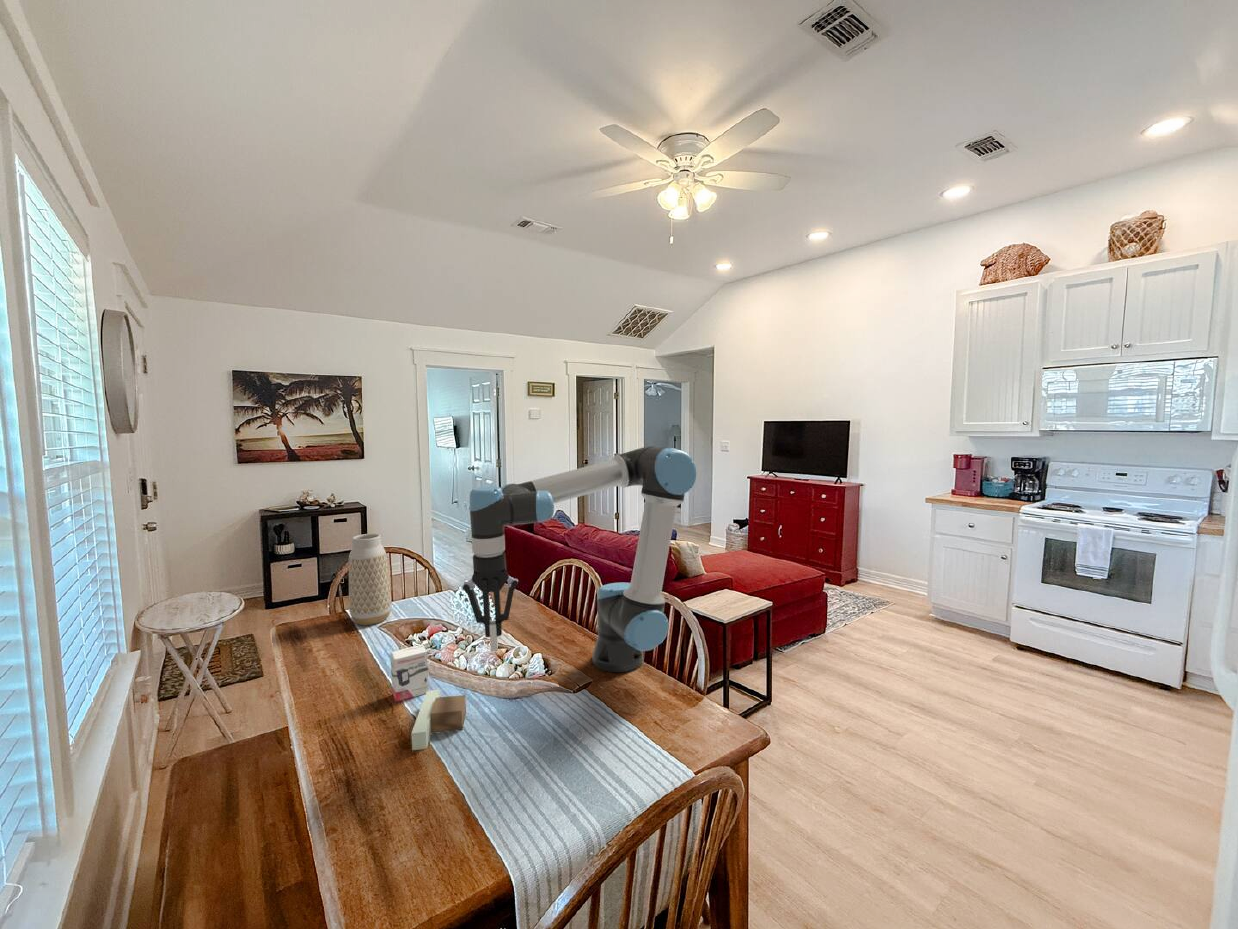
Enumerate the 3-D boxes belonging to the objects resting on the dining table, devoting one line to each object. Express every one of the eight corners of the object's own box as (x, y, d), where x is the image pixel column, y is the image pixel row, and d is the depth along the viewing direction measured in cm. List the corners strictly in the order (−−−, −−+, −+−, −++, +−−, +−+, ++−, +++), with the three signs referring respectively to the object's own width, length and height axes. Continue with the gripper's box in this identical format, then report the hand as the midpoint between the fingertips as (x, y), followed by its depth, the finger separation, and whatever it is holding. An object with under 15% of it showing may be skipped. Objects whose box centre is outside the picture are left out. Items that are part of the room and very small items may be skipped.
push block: (466, 714, 132) (465, 695, 131) (462, 731, 125) (461, 710, 125) (436, 717, 131) (435, 697, 130) (431, 734, 124) (430, 713, 124)
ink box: (396, 703, 137) (393, 659, 136) (392, 694, 141) (389, 651, 140) (430, 692, 142) (427, 650, 141) (425, 685, 146) (423, 643, 145)
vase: (385, 609, 201) (380, 530, 198) (397, 620, 191) (392, 536, 187) (346, 619, 192) (340, 536, 189) (356, 631, 182) (350, 543, 179)
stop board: (440, 704, 136) (439, 689, 136) (426, 748, 118) (425, 731, 118) (427, 705, 136) (426, 690, 135) (412, 750, 118) (411, 733, 117)
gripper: (517, 546, 130) (522, 639, 133) (462, 550, 128) (468, 644, 130) (516, 555, 122) (521, 653, 125) (458, 559, 120) (464, 658, 123)
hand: (494, 648), depth 128 cm, fingers closed
